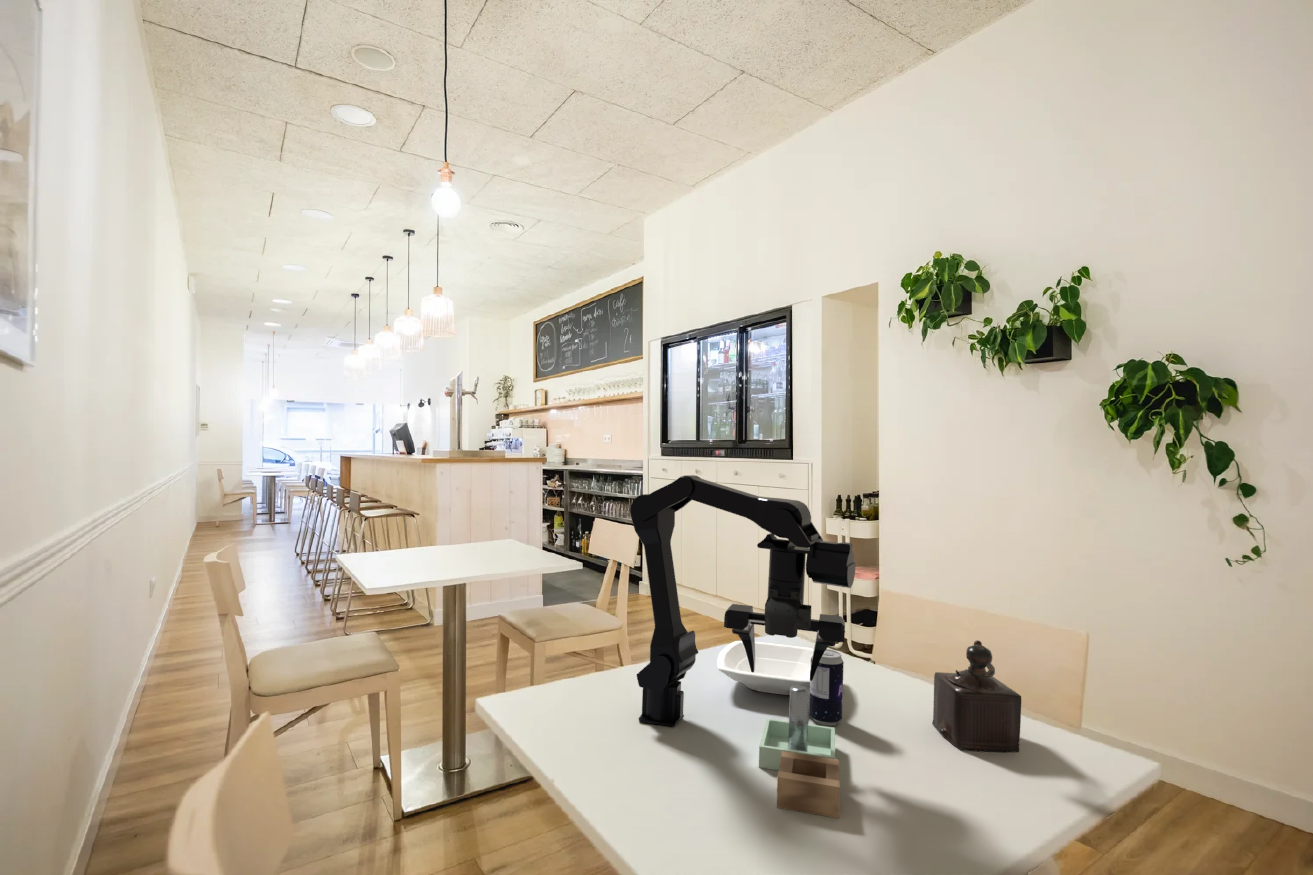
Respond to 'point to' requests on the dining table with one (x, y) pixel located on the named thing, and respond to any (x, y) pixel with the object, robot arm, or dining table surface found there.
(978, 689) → the dark brown ornamental box
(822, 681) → the beverage can
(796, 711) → the cylinder
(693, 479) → the robot arm
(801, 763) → the brown square sleeve
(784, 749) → the tray
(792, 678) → the bowl
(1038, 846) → the dining table surface
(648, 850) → the dining table surface
